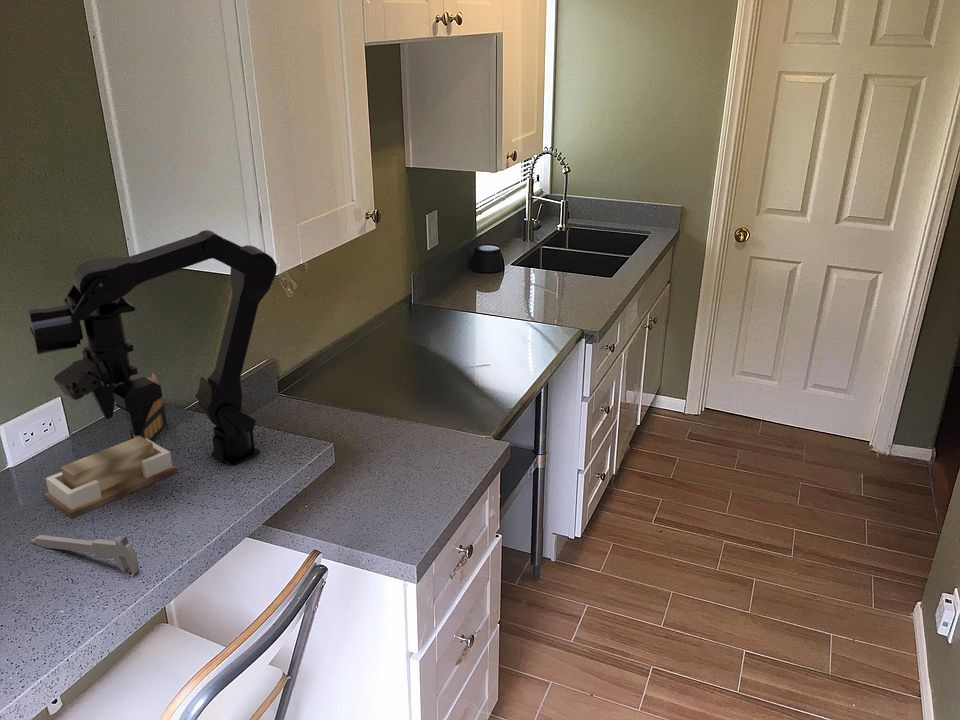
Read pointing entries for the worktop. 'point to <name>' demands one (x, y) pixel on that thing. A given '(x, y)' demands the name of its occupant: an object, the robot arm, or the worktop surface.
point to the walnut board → (112, 492)
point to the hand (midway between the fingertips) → (123, 426)
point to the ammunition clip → (154, 419)
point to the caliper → (96, 549)
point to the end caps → (92, 489)
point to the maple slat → (109, 465)
